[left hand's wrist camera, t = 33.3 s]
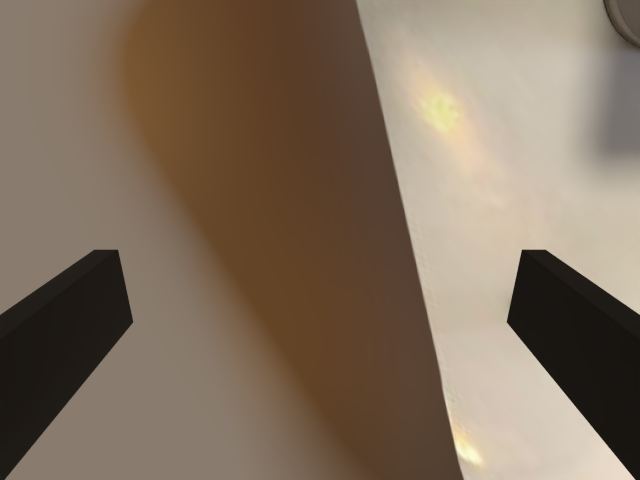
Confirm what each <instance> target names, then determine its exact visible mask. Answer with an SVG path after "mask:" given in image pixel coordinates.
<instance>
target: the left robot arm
mask: <svg viewBox="0 0 640 480" xmlns="http://www.w3.org/2000/svg"><path fill="white" fill-rule="evenodd" d="M605 4H606V7H607V11H608V14H609V17H610V19H611V21H612V23H613V25H614V26H615V28H616V29H617V31H618V32H619V33H620V34H621V35H622V36H623V37H624V38H625V39H626V40H627V41H628V42H630V43H631V44H633V45H635V46H637V47H639V48H640V0H605ZM132 323H133V319H132V314H131V309H130V305H129V300H128V295H127V290H126V286H125V281H124V276H123V271H122V267H121V262H120V257H119V252H118V250H93V251H92V252H90V253H89V254H88V255H86V256H85V257H83V258H82V259H80V260H79V261H77V262H76V263H75V264H73V265H72V266H70V267H69V268H67V269H66V270H64V271H63V272H62V273H60V274H59V275H57V276H56V277H54V278H53V279H51V280H50V281H49V282H47V283H46V284H44V285H43V286H41V287H40V288H38V289H37V290H36V291H34V292H33V293H31V294H30V295H28V296H27V297H25V298H24V299H23V300H21V301H20V302H18V303H17V304H15V305H14V306H12V307H11V308H10V309H8V310H7V311H5V312H4V313H2V314H1V315H0V480H5V478H6V477H7V476H8V475H9V474H10V472H11V471H12V470H13V469H14V467H15V466H16V465H17V464H18V463H19V461H20V460H21V459H22V458H23V456H24V455H25V454H26V453H27V452H28V450H29V449H30V448H31V447H32V445H33V444H34V443H35V442H36V441H37V439H38V438H39V437H40V436H41V434H42V433H43V432H44V431H45V430H46V428H47V427H48V426H49V425H50V423H51V422H52V421H53V420H54V419H55V417H56V416H57V415H58V414H59V412H60V411H61V410H62V409H63V407H64V406H65V405H66V404H67V403H68V401H69V400H70V399H71V398H72V396H73V395H74V394H75V393H76V391H77V390H78V389H79V388H80V387H81V385H82V384H83V383H84V382H85V381H86V379H87V378H88V377H89V376H90V374H91V373H92V372H93V371H94V370H95V368H96V367H97V366H98V365H99V363H100V362H101V361H102V360H103V359H104V357H105V356H106V355H107V354H108V352H109V351H110V350H111V349H112V348H113V346H114V345H115V344H116V343H117V341H118V340H119V339H120V338H121V337H122V335H123V334H124V333H125V332H126V330H127V329H128V328H129V327H130V325H131V324H132ZM507 323H508V324H509V326H510V327H511V328H512V329H513V330H514V332H515V333H516V334H517V335H518V337H519V338H520V339H521V340H522V341H523V343H524V344H525V345H526V346H527V348H528V349H529V350H530V351H531V352H532V354H533V355H534V356H535V357H536V359H537V360H538V361H539V362H540V363H541V365H542V366H543V367H544V368H545V370H546V371H547V372H548V373H549V374H550V376H551V377H552V378H553V379H554V381H555V382H556V383H557V384H558V385H559V387H560V388H561V389H562V390H563V392H564V393H565V394H566V395H567V396H568V398H569V399H570V400H571V401H572V403H573V404H574V405H575V406H576V408H577V409H578V410H579V411H580V412H581V414H582V415H583V416H584V417H585V419H586V420H587V421H588V422H589V423H590V425H591V426H592V427H593V428H594V430H595V431H596V432H597V433H598V434H599V436H600V437H601V438H602V439H603V441H604V442H605V443H606V444H607V445H608V447H609V448H610V449H611V450H612V452H613V453H614V454H615V455H616V456H617V458H618V459H619V460H620V461H621V463H622V464H623V465H624V466H625V467H626V469H627V470H628V471H629V472H630V474H631V475H632V476H633V477H634V478H635V480H640V315H639V314H638V313H636V312H635V311H633V310H632V309H630V308H629V307H628V306H626V305H625V304H623V303H622V302H620V301H619V300H617V299H616V298H615V297H613V296H612V295H610V294H609V293H607V292H606V291H604V290H603V289H602V288H600V287H599V286H597V285H596V284H594V283H593V282H591V281H590V280H589V279H587V278H586V277H584V276H583V275H581V274H580V273H578V272H577V271H576V270H574V269H573V268H571V267H570V266H568V265H567V264H565V263H564V262H563V261H561V260H560V259H558V258H557V257H555V256H554V255H552V254H551V253H550V252H548V251H547V250H522V252H521V257H520V262H519V267H518V271H517V276H516V281H515V286H514V290H513V295H512V300H511V305H510V309H509V314H508V319H507Z"/></svg>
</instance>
